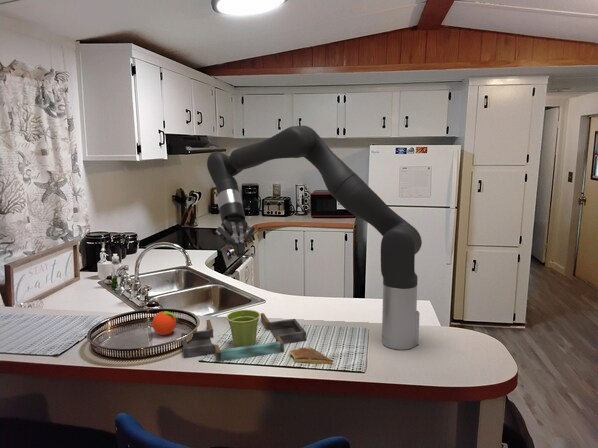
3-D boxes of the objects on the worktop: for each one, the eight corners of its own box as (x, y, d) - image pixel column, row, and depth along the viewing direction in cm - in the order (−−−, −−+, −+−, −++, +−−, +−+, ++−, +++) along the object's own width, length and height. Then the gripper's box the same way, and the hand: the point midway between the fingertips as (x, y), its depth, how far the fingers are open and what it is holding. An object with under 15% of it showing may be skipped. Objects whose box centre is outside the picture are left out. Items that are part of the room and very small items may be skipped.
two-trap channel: (287, 317, 149) (287, 310, 149) (311, 347, 127) (311, 339, 126) (180, 331, 139) (179, 323, 139) (185, 366, 117) (184, 357, 116)
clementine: (184, 330, 140) (182, 308, 139) (173, 339, 133) (172, 316, 132) (159, 328, 141) (158, 306, 140) (148, 338, 135) (146, 314, 133)
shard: (333, 366, 117) (333, 359, 117) (309, 374, 113) (309, 367, 113) (309, 351, 126) (309, 344, 126) (285, 358, 122) (285, 351, 122)
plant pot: (220, 348, 127) (219, 318, 125) (239, 335, 135) (238, 307, 134) (250, 354, 123) (249, 323, 122) (267, 341, 132) (266, 312, 130)
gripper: (214, 200, 140) (224, 251, 133) (254, 201, 147) (265, 250, 140) (207, 212, 146) (215, 261, 139) (245, 213, 153) (255, 260, 145)
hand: (240, 256), depth 139 cm, fingers closed
